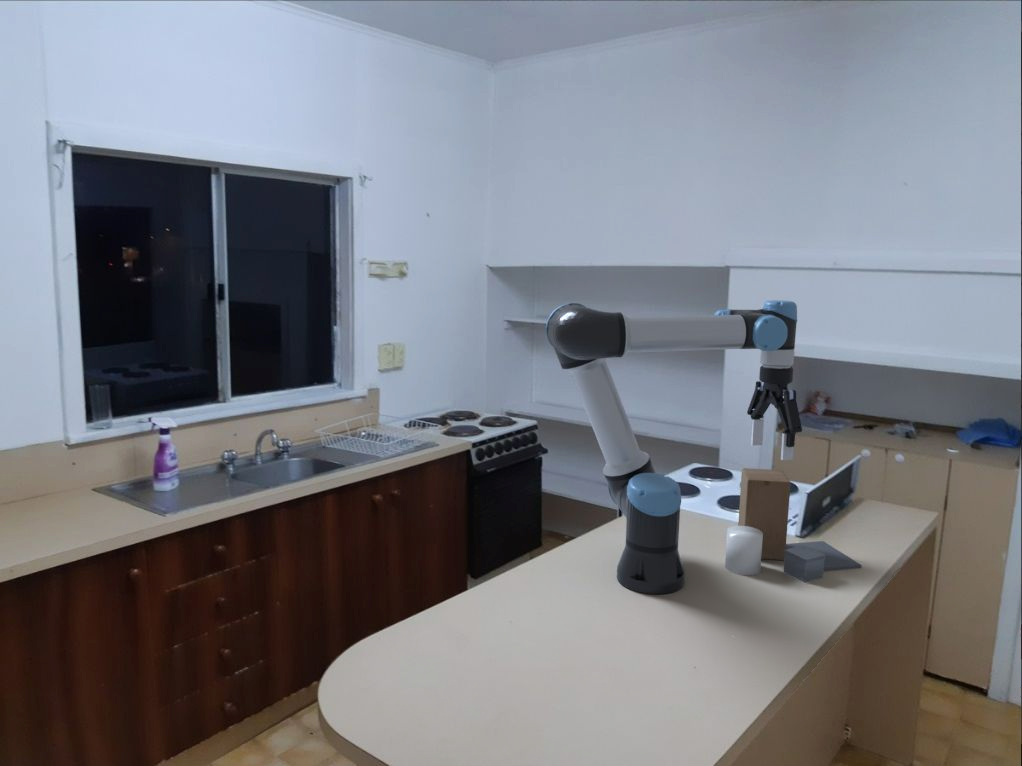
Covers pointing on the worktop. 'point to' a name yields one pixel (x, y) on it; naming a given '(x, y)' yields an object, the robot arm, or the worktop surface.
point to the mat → (829, 555)
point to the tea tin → (804, 563)
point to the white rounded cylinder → (743, 550)
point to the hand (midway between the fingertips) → (771, 452)
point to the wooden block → (766, 508)
